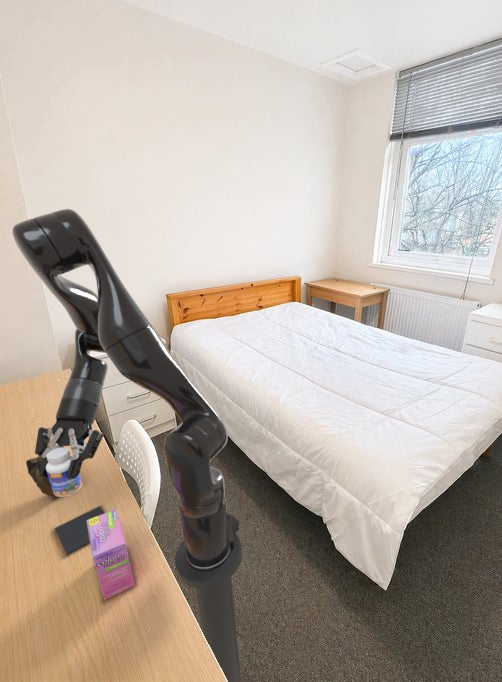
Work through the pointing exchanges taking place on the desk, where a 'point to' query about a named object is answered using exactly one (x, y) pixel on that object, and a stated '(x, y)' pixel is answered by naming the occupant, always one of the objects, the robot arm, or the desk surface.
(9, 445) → the desk surface
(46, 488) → the sculpture
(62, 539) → the pad
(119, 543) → the box
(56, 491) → the pill bottle
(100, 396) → the robot arm
